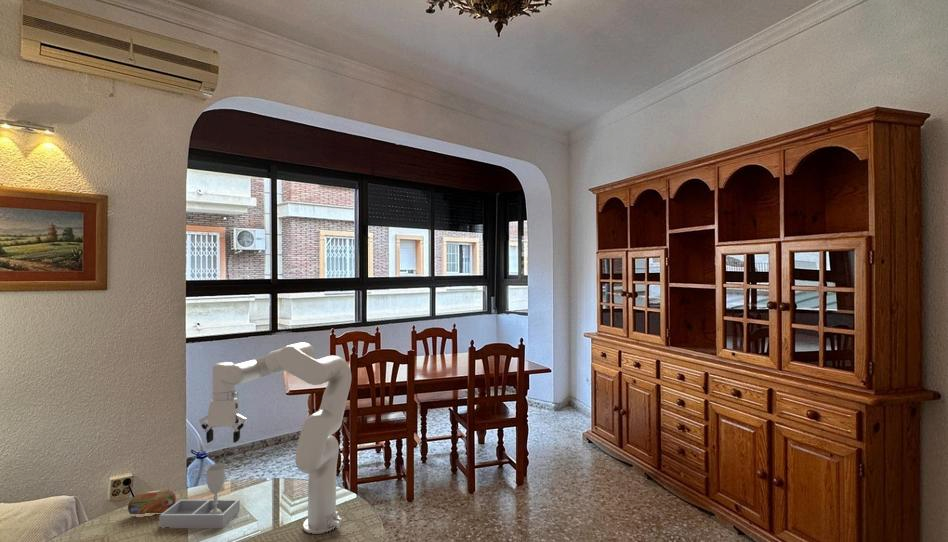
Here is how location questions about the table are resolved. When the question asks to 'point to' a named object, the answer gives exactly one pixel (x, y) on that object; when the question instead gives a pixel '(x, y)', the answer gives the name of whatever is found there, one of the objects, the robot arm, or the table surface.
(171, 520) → the holder
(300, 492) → the table surface
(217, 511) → the chalice
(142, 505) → the tin
